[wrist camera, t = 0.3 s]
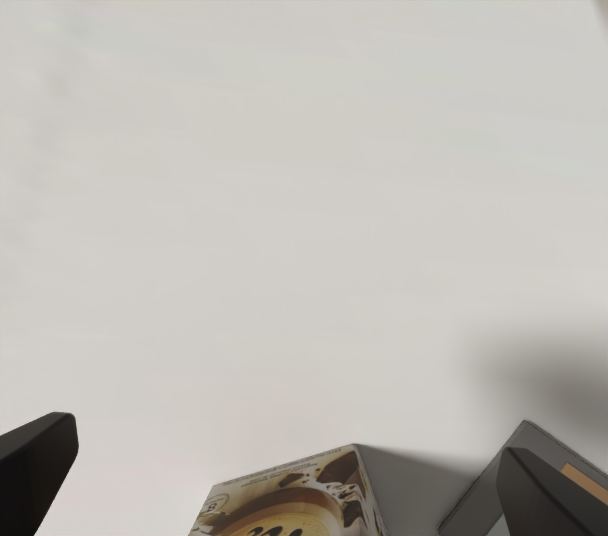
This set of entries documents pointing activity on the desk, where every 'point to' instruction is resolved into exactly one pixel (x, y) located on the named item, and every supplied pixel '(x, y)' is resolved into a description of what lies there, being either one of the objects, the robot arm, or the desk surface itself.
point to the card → (483, 494)
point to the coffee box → (296, 500)
